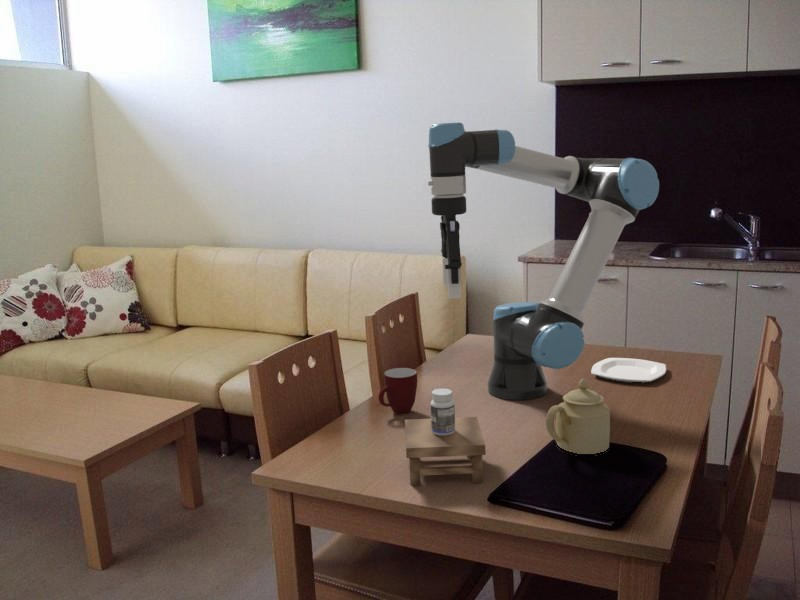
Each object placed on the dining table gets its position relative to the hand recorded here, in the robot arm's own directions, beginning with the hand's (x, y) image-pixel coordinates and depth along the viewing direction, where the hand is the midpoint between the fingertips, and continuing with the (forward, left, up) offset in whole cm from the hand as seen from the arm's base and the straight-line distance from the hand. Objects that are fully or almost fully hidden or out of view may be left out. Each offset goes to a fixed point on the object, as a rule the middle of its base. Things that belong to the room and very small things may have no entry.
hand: (452, 291), depth 170 cm
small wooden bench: (+4, +24, -31) cm, 40 cm away
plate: (-50, -32, -32) cm, 67 cm away
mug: (+13, -9, -32) cm, 36 cm away
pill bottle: (+4, +24, -24) cm, 34 cm away
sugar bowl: (-25, +17, -32) cm, 44 cm away
